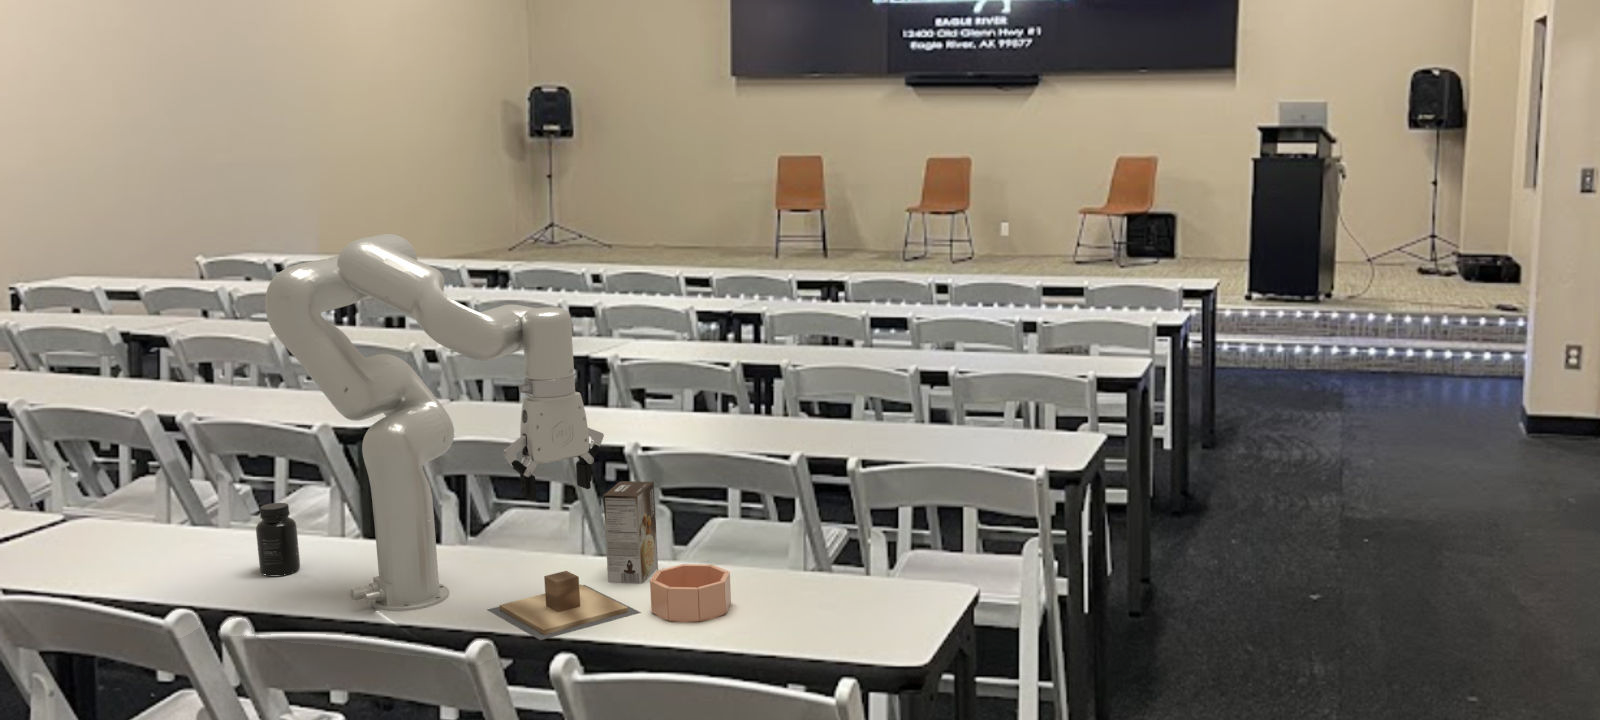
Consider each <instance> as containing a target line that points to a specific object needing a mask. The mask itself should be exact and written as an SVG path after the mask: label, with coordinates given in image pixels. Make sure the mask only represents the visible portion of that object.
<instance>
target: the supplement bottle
mask: <svg viewBox="0 0 1600 720" xmlns="http://www.w3.org/2000/svg"><path fill="white" fill-rule="evenodd" d="M289 509H290V506H289V504H288V503H286V502H272V503H267V504H264V505H261V506H260V507H259V518H260V519H261V521H259V522H258V523H257V525H256V528H255V533H256V542H257V553H258V565H259V571H260V573H261V575H263V574H266V575H283V576H285V575H284V574H288V575H290V574H289V573H291V574H293V573H292V572H294V573H296V572H298V571H299V570H300V568H301V560H300V559H301V558H300V548H299V538H298V530H297V523H296V521H295V520H294V519H293V518H291V517H289V516H290V513H291V512H290V510H289ZM298 569H299V570H298ZM297 570H298V571H297ZM295 571H296V572H295Z"/></svg>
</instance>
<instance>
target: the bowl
mask: <svg viewBox="0 0 1600 720" xmlns="http://www.w3.org/2000/svg"><path fill="white" fill-rule="evenodd" d="M649 586H650V608H651V611H650V612H651V613H652V614H655V616H656V617H658V618H659V619H662V620H665V621H670V622H676V623H697V622H705V621H709V620H713V619H716V618H719V617H721V616H723V615H726V613H727V612H728V611H729V610H730V606H731V604H732V596H731V595H732V594H731V593H732V591H731V589H732V588H731V572H730V571H729V570H727V569H724V568H722V567H719V566H717V565H714V564H701V563H700V564H699V563H697V564H696V563H693V564H692V563H691V564H690V563H687V564H686V563H683V564H677V565H674V566H671V567H666V568H663V569H658V570H655V573H653V576H652V577H651V578H650V580H649Z"/></svg>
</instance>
